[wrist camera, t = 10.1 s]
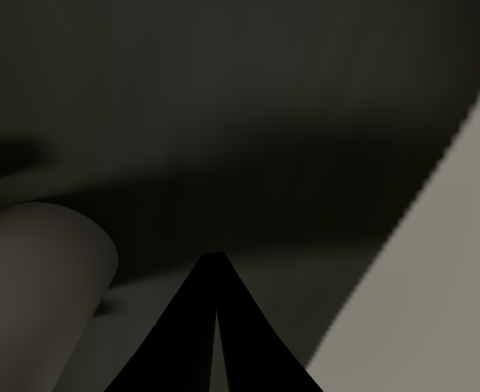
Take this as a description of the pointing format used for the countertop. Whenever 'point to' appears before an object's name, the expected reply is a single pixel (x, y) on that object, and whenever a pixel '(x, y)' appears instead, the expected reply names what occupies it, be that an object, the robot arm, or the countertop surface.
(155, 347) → the robot arm
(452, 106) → the countertop surface
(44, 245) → the jar
